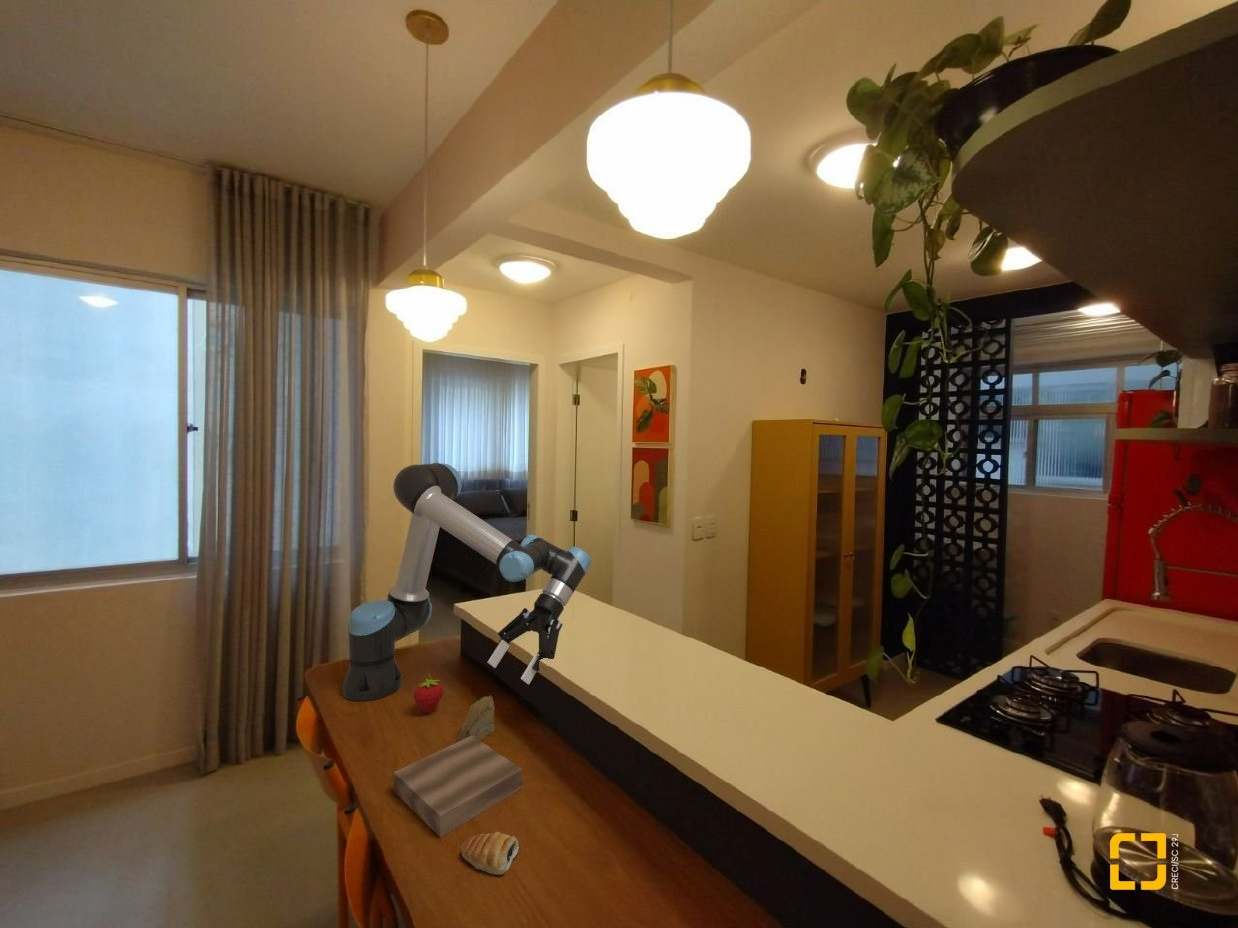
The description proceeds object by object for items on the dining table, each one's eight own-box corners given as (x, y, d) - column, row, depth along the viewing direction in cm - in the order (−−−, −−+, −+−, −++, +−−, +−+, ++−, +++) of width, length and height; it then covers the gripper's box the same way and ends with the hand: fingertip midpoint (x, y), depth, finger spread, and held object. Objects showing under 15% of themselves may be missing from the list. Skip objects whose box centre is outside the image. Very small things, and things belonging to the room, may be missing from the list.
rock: (457, 747, 116) (501, 731, 121) (449, 708, 120) (492, 693, 125) (455, 753, 125) (496, 738, 129) (447, 716, 129) (488, 702, 133)
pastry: (452, 867, 87) (452, 845, 87) (473, 838, 93) (473, 817, 93) (504, 880, 85) (504, 857, 85) (522, 848, 91) (522, 827, 91)
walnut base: (393, 791, 105) (393, 772, 105) (472, 752, 119) (472, 735, 118) (440, 837, 93) (440, 815, 93) (521, 788, 107) (521, 769, 106)
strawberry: (409, 714, 135) (409, 676, 134) (437, 703, 140) (436, 667, 140) (420, 722, 131) (420, 683, 130) (448, 711, 136) (448, 673, 136)
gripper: (593, 617, 135) (548, 696, 124) (531, 597, 151) (487, 665, 141) (578, 602, 131) (531, 681, 120) (516, 583, 147) (469, 652, 136)
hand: (507, 673), depth 130 cm, fingers open, 13 cm apart
